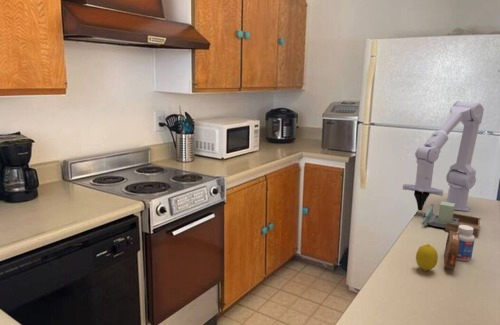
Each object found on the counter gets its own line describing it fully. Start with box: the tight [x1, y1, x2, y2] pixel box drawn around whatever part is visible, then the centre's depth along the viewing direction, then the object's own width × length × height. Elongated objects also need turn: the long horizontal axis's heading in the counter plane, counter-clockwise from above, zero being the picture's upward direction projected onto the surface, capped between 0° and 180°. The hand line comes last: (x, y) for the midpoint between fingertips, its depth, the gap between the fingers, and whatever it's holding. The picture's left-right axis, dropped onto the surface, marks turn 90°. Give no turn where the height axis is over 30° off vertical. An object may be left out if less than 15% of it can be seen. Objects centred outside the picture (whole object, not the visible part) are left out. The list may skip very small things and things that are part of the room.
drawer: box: [422, 204, 459, 229], centre depth 146 cm, size 15×11×4 cm
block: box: [437, 201, 455, 224], centre depth 143 cm, size 4×4×7 cm
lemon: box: [415, 243, 439, 272], centre depth 110 cm, size 6×6×8 cm
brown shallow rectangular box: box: [444, 212, 482, 239], centre depth 142 cm, size 13×10×3 cm
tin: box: [443, 231, 460, 270], centre depth 115 cm, size 15×3×8 cm, turn 154°
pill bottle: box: [456, 225, 476, 262], centre depth 119 cm, size 6×5×10 cm
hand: (420, 209), depth 156 cm, fingers closed
